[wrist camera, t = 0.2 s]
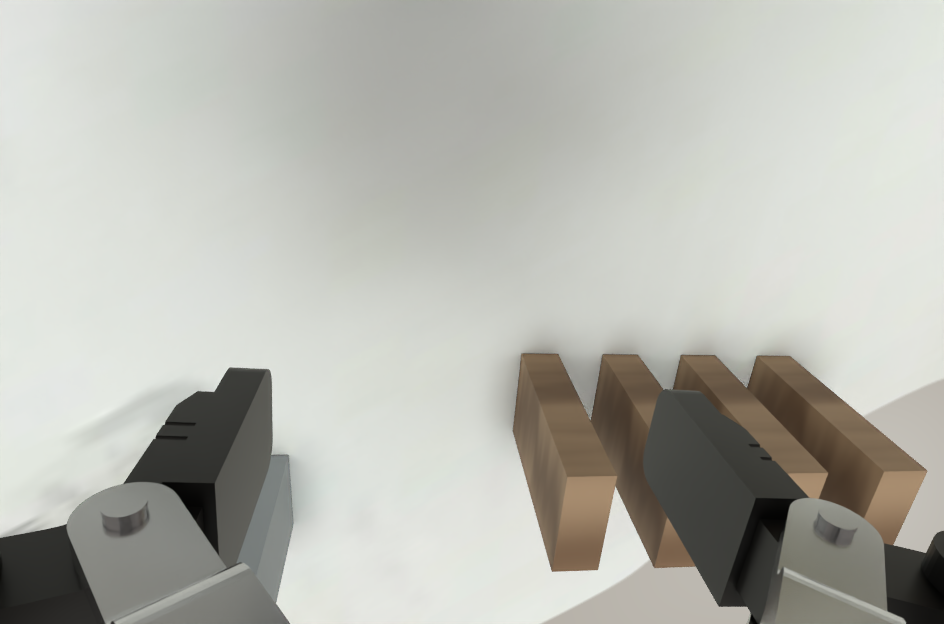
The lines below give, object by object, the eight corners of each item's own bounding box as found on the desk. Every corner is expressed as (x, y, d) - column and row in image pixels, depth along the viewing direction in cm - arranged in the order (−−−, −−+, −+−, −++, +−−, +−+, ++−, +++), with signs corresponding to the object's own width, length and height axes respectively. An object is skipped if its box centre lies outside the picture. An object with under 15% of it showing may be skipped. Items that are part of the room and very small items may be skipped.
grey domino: (251, 455, 33) (195, 611, 24) (288, 454, 34) (247, 609, 25) (258, 525, 36) (209, 692, 26) (293, 524, 36) (256, 690, 27)
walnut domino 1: (521, 353, 33) (567, 476, 24) (557, 354, 33) (617, 476, 24) (512, 430, 35) (552, 571, 26) (547, 430, 35) (597, 569, 26)
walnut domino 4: (757, 355, 34) (884, 471, 25) (789, 356, 35) (927, 470, 25) (735, 429, 36) (845, 560, 27) (766, 429, 37) (886, 559, 28)
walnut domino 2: (602, 354, 33) (678, 475, 24) (637, 354, 33) (725, 474, 24) (589, 430, 35) (654, 568, 26) (622, 430, 35) (698, 566, 26)
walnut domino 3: (681, 355, 34) (783, 473, 25) (715, 355, 34) (828, 472, 25) (663, 430, 36) (751, 564, 27) (695, 429, 36) (793, 563, 27)
